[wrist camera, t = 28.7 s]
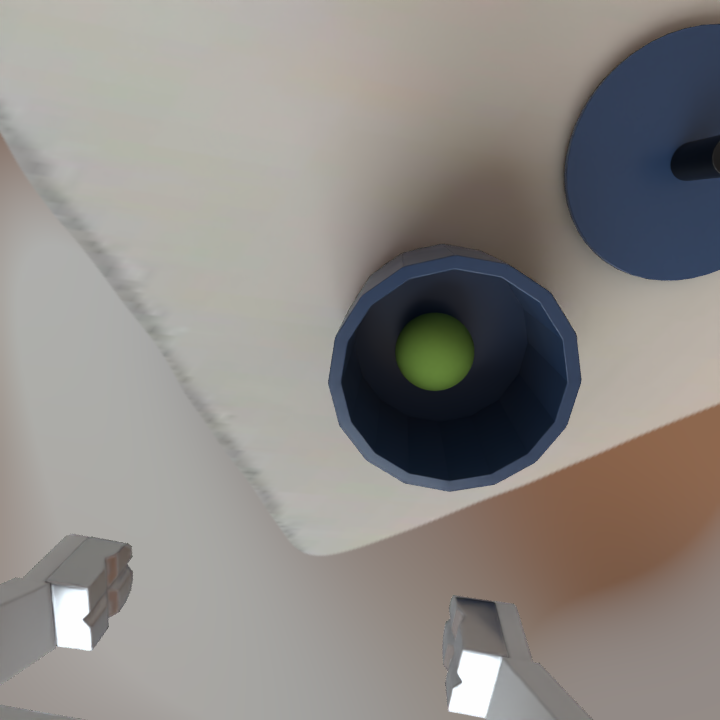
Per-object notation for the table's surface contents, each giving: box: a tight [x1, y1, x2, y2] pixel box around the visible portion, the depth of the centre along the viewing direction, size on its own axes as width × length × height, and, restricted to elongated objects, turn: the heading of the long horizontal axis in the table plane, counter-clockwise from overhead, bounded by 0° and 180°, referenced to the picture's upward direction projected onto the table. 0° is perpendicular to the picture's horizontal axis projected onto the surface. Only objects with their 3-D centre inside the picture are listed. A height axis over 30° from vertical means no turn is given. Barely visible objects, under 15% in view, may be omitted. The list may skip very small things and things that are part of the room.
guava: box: [395, 313, 474, 391], centre depth 34 cm, size 6×6×6 cm
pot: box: [328, 244, 581, 492], centre depth 33 cm, size 15×15×10 cm
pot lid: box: [564, 24, 720, 280], centre depth 30 cm, size 16×16×6 cm
